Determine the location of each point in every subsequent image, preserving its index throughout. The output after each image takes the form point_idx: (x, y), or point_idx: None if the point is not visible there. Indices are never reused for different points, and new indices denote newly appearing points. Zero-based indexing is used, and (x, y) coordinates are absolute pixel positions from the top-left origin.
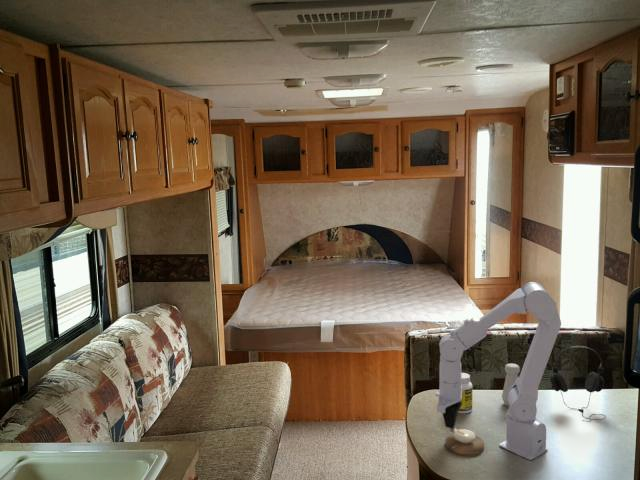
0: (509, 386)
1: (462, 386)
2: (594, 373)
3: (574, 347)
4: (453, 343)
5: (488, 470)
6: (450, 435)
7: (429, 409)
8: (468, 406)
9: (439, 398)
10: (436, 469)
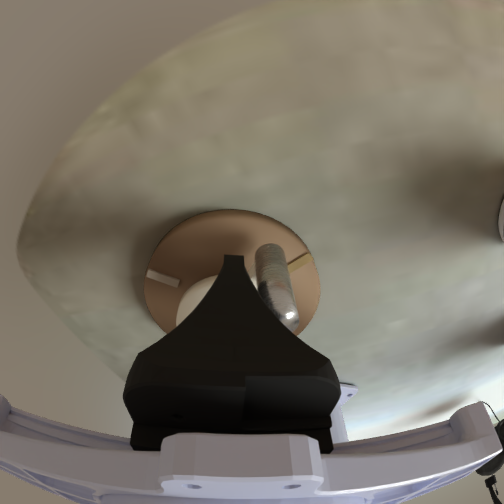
0: None
1: (463, 476)
2: (492, 473)
3: None
4: None
5: (124, 365)
6: (264, 232)
7: None
8: None
9: (81, 472)
10: (20, 240)
